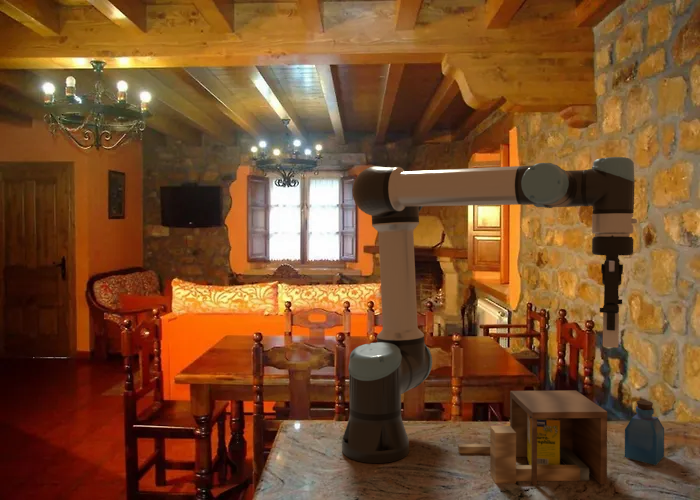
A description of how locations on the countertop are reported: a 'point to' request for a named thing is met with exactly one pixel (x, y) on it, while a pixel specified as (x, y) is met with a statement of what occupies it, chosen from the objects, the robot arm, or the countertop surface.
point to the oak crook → (509, 472)
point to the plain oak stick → (474, 448)
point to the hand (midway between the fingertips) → (611, 340)
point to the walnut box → (563, 426)
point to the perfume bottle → (644, 435)
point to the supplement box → (545, 441)
